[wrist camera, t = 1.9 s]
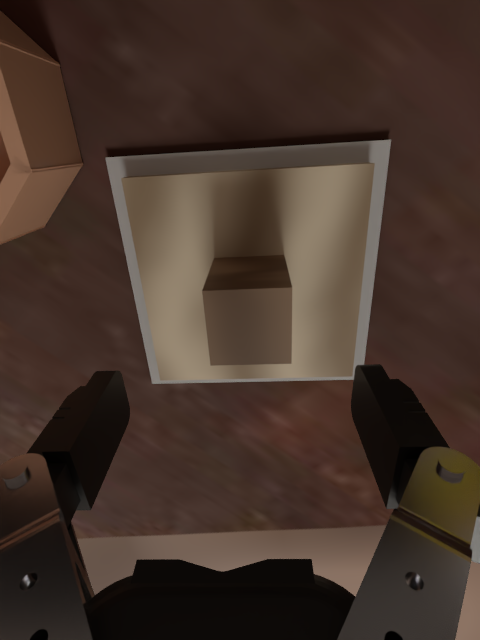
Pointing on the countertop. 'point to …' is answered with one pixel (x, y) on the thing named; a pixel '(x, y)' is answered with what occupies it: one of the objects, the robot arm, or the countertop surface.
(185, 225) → the lid
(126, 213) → the mat
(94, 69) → the countertop surface
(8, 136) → the bowl
